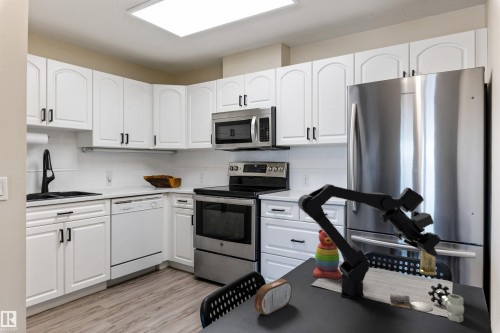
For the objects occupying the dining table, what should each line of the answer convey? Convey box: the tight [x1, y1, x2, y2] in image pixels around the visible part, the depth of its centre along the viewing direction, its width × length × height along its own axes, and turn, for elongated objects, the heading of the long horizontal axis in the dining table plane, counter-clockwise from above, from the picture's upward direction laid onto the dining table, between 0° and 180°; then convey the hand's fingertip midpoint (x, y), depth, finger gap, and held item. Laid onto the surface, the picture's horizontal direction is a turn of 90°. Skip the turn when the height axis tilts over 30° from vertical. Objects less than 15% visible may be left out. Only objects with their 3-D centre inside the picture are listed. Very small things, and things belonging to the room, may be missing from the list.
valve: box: [427, 283, 465, 323], centre depth 94 cm, size 7×7×12 cm
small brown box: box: [389, 293, 411, 309], centre depth 100 cm, size 5×5×3 cm
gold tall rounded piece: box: [419, 245, 437, 277], centre depth 108 cm, size 5×5×13 cm
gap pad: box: [409, 301, 433, 312], centre depth 98 cm, size 6×6×1 cm
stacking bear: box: [312, 229, 342, 280], centre depth 126 cm, size 11×10×18 cm
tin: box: [253, 278, 293, 316], centre depth 96 cm, size 15×3×8 cm, turn 135°
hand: (431, 253), depth 108 cm, fingers closed on gold tall rounded piece, 4 cm apart
